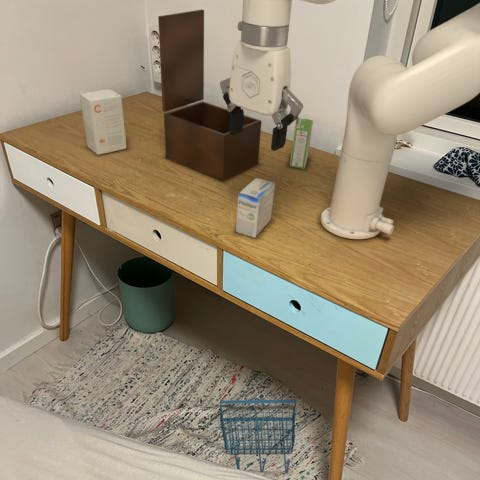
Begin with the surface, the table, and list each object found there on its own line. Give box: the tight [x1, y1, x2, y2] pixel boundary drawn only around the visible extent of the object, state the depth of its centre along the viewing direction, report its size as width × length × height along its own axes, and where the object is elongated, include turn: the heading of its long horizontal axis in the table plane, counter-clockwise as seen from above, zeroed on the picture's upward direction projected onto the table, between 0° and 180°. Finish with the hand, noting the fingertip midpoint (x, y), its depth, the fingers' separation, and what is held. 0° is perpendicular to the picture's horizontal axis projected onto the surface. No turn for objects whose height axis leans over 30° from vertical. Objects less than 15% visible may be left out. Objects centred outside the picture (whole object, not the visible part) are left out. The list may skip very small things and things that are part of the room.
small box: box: [79, 88, 127, 156], centre depth 124 cm, size 8×6×13 cm
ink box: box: [289, 116, 314, 170], centre depth 123 cm, size 7×4×13 cm, turn 168°
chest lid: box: [157, 9, 205, 113], centre depth 116 cm, size 19×14×1 cm
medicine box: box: [235, 177, 276, 239], centre depth 99 cm, size 8×4×9 cm, turn 154°
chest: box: [163, 100, 262, 182], centre depth 122 cm, size 19×14×11 cm
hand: (256, 140), depth 92 cm, fingers open, 9 cm apart
